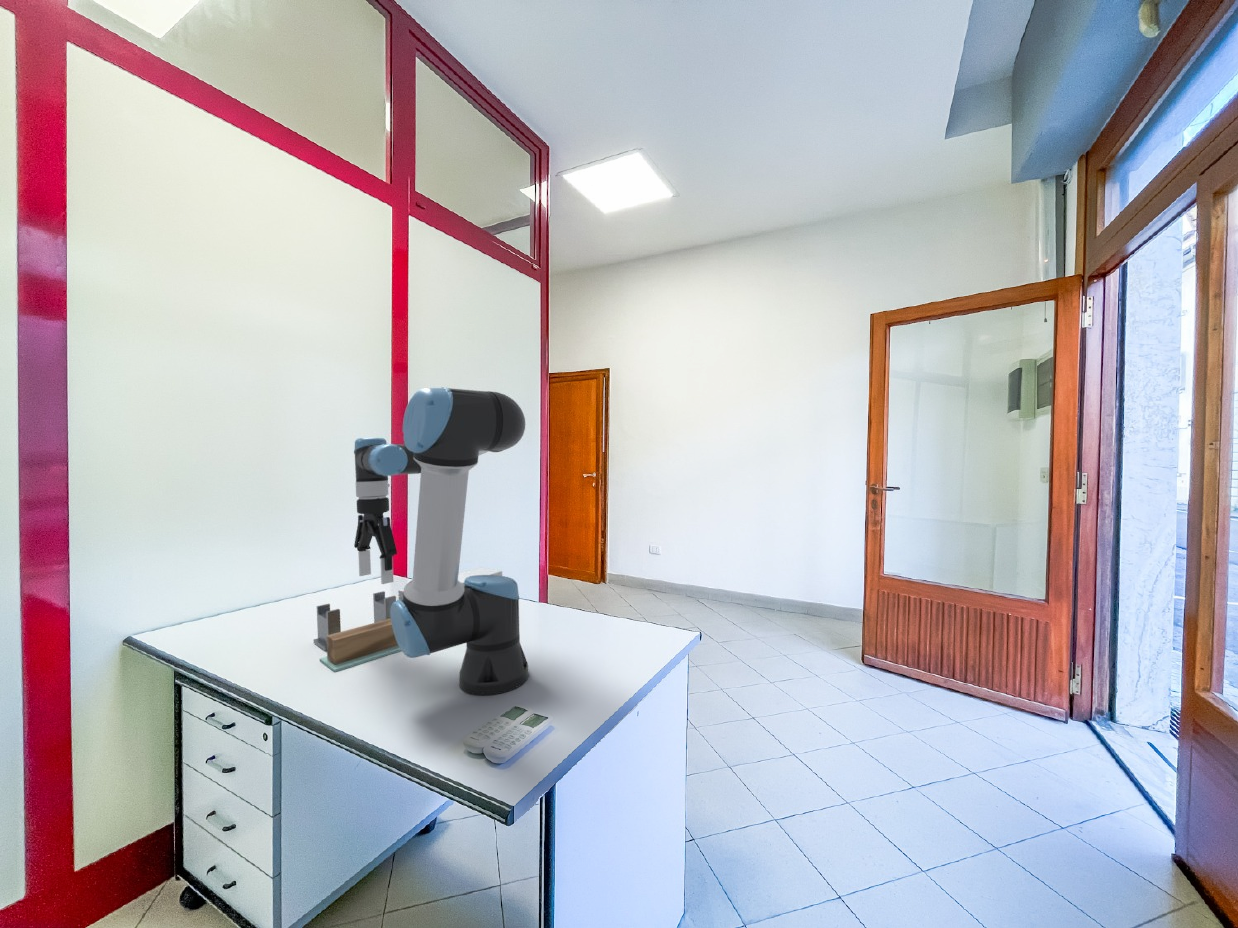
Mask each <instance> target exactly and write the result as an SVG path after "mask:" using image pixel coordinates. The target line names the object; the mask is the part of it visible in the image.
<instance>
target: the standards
mask: <svg viewBox="0 0 1238 928" xmlns="http://www.w3.org/2000/svg"><path fill="white" fill-rule="evenodd" d="M372 597H373V599H372V602H373V623H376V622H380V621H383V620H387V619H391V614H390V610H391V606H392V604H393V603H394V602H395V601H397V596H396V595H392V596H388V597H386V592H385V591H379V592H375V593H372ZM316 623H317V624H316V625H317V638H314V639H313V640H312V641H313V644H314V643H315V644H314V645H316V646H317V647H318V648H320V650H323V651H324V652H327V637H326V636H327V635H331V634H335V633H339V632H342V631H341V629H342V628H341V609H339V608H336V609H332V610H331V604H330V603H325V604H321V605H317V606H316Z"/></svg>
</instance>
